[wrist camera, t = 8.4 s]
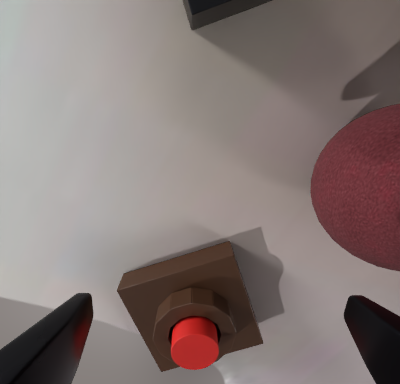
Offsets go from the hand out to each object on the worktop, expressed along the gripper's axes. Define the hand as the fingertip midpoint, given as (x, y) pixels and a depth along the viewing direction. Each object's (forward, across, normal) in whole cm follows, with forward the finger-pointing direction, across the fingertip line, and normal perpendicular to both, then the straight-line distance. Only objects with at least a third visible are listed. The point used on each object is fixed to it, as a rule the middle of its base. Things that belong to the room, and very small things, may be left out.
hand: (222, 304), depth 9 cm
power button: (+9, 0, +11) cm, 14 cm away
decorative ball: (+12, -12, -2) cm, 17 cm away
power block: (+12, 0, +11) cm, 16 cm away
